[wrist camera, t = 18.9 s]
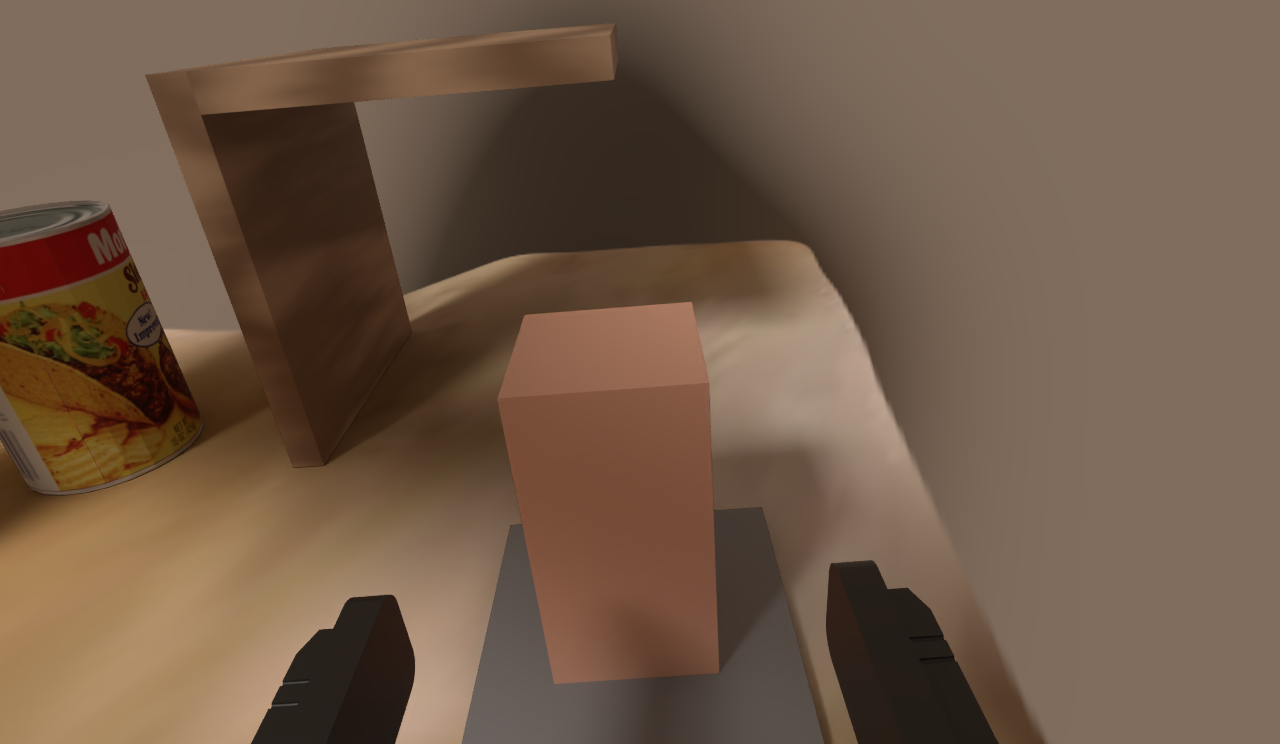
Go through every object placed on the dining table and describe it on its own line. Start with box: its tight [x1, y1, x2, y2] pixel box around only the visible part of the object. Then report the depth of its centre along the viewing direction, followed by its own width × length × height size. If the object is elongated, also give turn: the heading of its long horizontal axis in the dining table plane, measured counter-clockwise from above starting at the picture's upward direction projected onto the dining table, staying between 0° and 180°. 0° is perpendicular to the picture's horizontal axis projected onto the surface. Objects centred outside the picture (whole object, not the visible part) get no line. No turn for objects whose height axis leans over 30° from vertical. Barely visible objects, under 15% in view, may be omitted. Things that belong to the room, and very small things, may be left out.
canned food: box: [0, 201, 203, 495], centre depth 34 cm, size 8×8×12 cm
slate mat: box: [462, 507, 824, 744], centre depth 24 cm, size 10×10×1 cm
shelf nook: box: [146, 23, 619, 468], centre depth 36 cm, size 17×16×18 cm
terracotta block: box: [497, 302, 719, 684], centre depth 21 cm, size 5×5×10 cm
